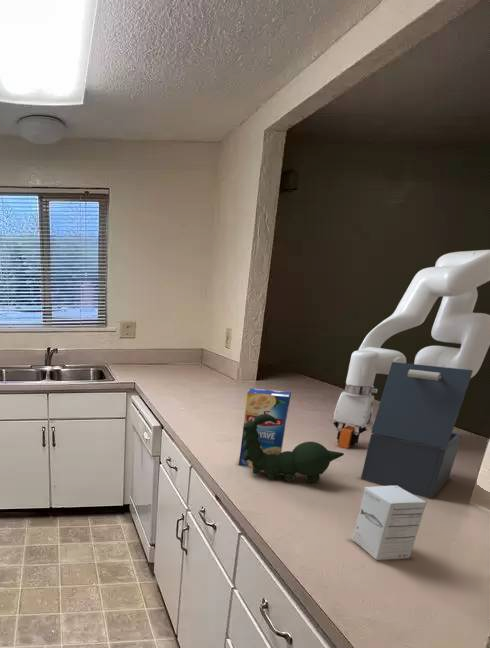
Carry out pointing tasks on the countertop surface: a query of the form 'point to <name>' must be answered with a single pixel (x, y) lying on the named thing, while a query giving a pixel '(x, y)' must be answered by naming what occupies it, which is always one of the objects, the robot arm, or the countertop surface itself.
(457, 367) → the robot arm
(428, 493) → the trash can
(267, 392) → the blue food box
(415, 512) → the white packaging box
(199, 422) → the countertop surface
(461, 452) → the countertop surface
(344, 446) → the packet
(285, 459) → the toy figurine
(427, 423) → the box lid
